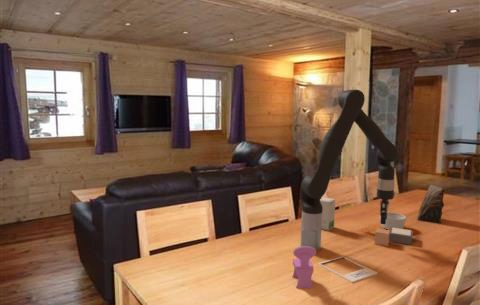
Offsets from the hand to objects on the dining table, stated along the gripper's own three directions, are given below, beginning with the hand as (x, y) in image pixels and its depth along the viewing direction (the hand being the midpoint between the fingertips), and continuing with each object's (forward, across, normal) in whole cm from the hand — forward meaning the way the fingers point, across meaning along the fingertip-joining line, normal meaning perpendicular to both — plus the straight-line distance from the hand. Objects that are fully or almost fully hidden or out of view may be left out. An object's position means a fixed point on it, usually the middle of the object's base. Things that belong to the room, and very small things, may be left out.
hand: (383, 221), depth 175 cm
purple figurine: (+10, -56, +23) cm, 62 cm away
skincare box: (+11, +9, +29) cm, 32 cm away
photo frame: (+11, -37, +10) cm, 40 cm away
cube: (+11, 0, 0) cm, 11 cm away
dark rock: (+12, +52, -21) cm, 57 cm away
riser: (+11, +9, -8) cm, 16 cm away
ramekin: (+11, +26, -3) cm, 28 cm away
